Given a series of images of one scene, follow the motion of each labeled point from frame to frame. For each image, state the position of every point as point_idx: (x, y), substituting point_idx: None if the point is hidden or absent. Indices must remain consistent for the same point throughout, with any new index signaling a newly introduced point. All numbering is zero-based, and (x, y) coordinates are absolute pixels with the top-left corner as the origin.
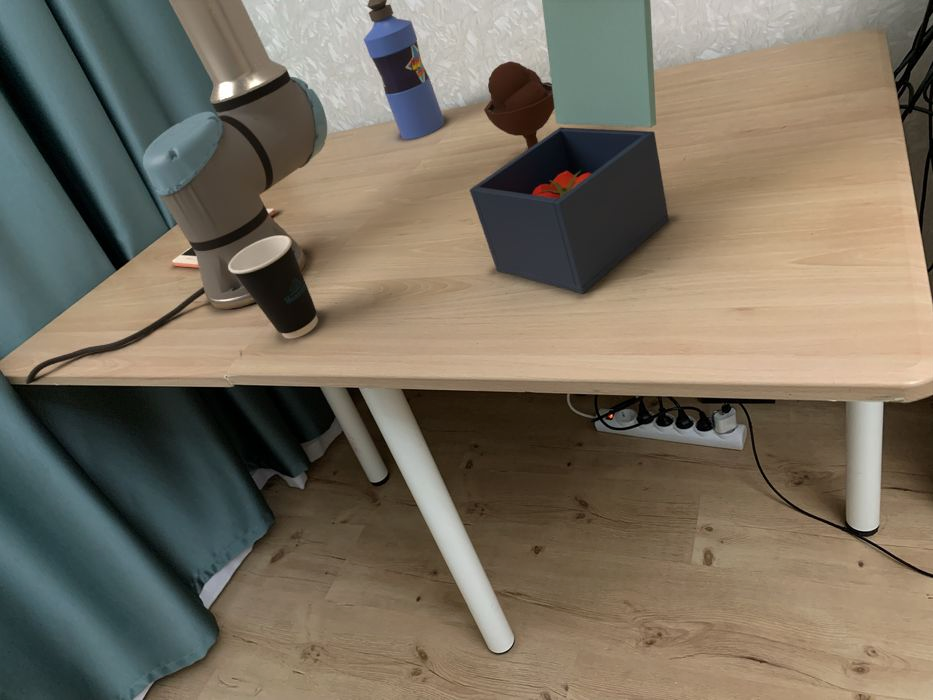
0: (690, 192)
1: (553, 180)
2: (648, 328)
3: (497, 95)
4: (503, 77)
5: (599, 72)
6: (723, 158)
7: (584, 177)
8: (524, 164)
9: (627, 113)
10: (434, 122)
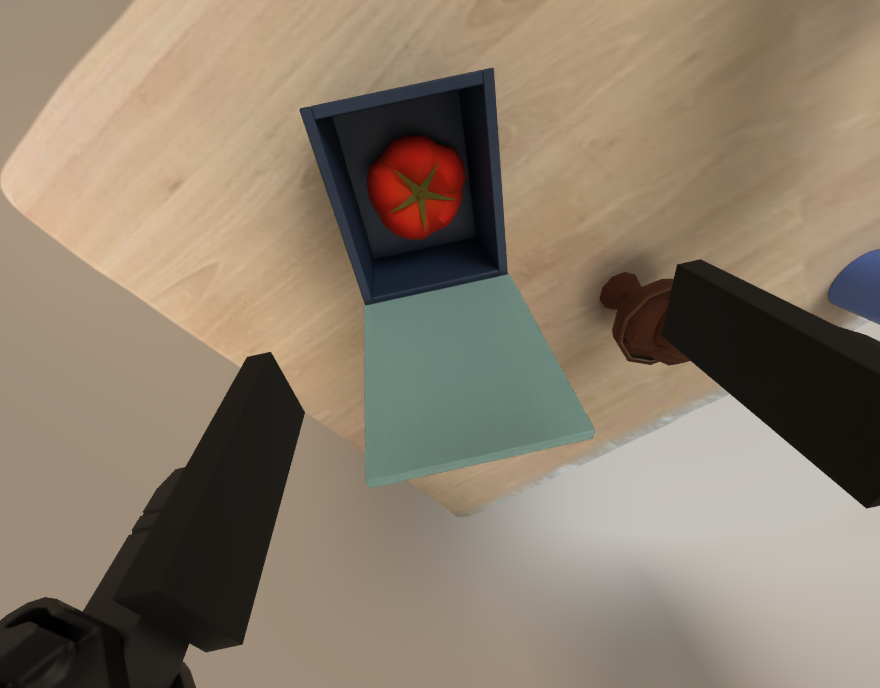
0: None
1: (452, 203)
2: (205, 102)
3: None
4: None
5: (441, 332)
6: None
7: (404, 219)
8: (489, 190)
9: (396, 308)
10: (841, 289)
